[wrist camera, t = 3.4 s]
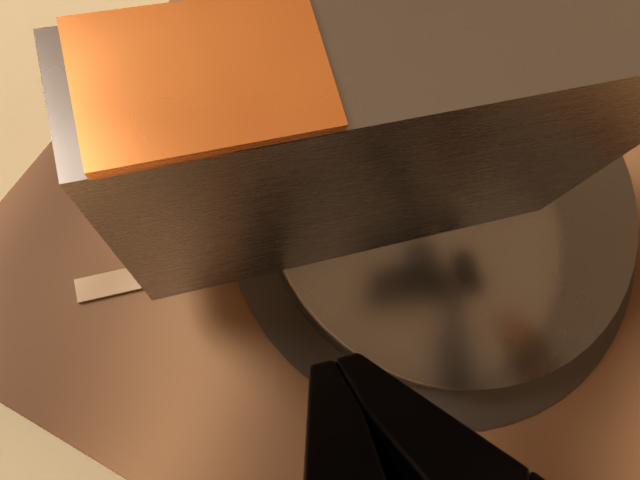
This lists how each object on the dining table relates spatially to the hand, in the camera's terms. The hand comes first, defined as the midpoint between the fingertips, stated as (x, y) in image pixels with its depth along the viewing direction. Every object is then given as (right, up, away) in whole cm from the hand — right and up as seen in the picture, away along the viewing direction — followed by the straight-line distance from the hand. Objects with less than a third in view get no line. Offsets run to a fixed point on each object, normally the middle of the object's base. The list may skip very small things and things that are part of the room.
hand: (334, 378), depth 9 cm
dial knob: (+2, +3, +6) cm, 7 cm away
